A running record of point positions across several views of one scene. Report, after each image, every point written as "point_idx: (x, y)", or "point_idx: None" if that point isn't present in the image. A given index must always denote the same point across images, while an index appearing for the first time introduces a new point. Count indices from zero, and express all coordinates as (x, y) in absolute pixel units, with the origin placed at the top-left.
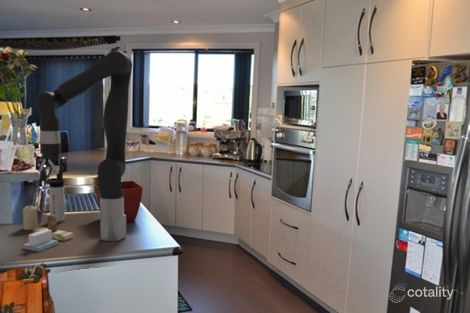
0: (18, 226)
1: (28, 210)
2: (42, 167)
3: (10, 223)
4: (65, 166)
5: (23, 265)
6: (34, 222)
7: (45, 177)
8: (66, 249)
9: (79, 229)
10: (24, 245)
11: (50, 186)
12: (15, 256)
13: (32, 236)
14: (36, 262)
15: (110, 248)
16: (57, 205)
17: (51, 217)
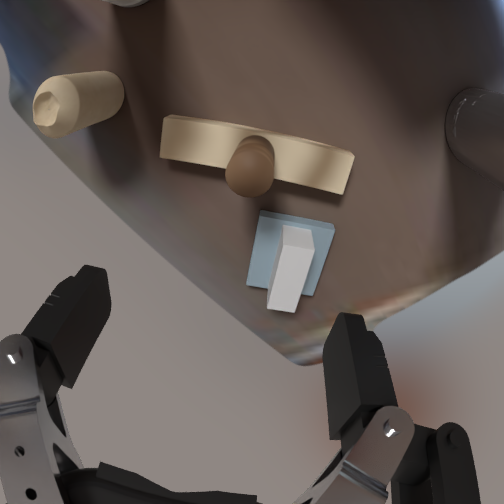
0: None
1: (67, 131)
2: (81, 465)
3: (16, 90)
4: (463, 498)
5: None
6: (110, 101)
7: (89, 297)
8: (380, 256)
9: (308, 38)
10: (253, 284)
11: None
12: (271, 322)
13: (284, 308)
14: None
15: (489, 223)
16: None
17: (260, 193)
